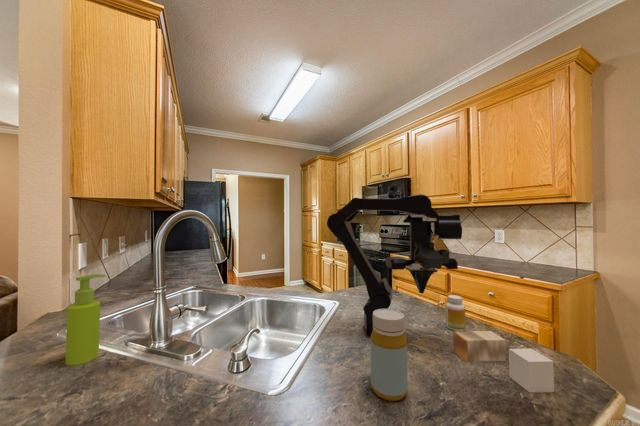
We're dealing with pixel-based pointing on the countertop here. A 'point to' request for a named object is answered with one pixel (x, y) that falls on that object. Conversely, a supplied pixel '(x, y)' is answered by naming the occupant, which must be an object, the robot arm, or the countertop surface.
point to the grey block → (531, 370)
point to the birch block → (479, 346)
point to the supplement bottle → (455, 313)
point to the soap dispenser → (83, 324)
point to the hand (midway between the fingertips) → (421, 293)
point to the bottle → (389, 355)
